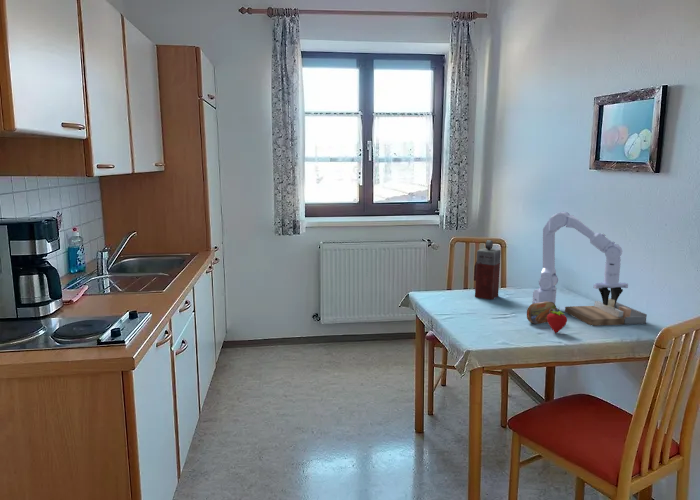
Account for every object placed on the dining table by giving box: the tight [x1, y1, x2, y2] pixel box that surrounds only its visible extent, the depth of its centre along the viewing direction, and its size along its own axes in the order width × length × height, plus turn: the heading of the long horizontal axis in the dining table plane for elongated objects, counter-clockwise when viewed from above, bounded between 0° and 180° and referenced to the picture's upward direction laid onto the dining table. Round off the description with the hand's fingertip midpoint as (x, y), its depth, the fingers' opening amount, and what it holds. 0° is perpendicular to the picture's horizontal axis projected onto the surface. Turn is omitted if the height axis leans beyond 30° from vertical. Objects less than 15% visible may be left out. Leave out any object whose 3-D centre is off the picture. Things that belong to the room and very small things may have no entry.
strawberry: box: [547, 310, 568, 334], centre depth 206 cm, size 6×8×10 cm
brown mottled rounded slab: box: [526, 301, 558, 325], centre depth 220 cm, size 15×3×8 cm, turn 117°
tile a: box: [619, 306, 631, 318], centre depth 224 cm, size 4×4×2 cm
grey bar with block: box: [593, 297, 623, 317], centre depth 227 cm, size 3×17×6 cm, turn 8°
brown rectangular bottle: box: [473, 239, 502, 301], centre depth 261 cm, size 9×11×28 cm
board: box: [564, 305, 625, 326], centre depth 227 cm, size 14×20×2 cm
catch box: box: [614, 301, 648, 325], centre depth 228 cm, size 10×20×4 cm, turn 8°
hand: (609, 304), depth 227 cm, fingers closed on grey bar with block, 3 cm apart
